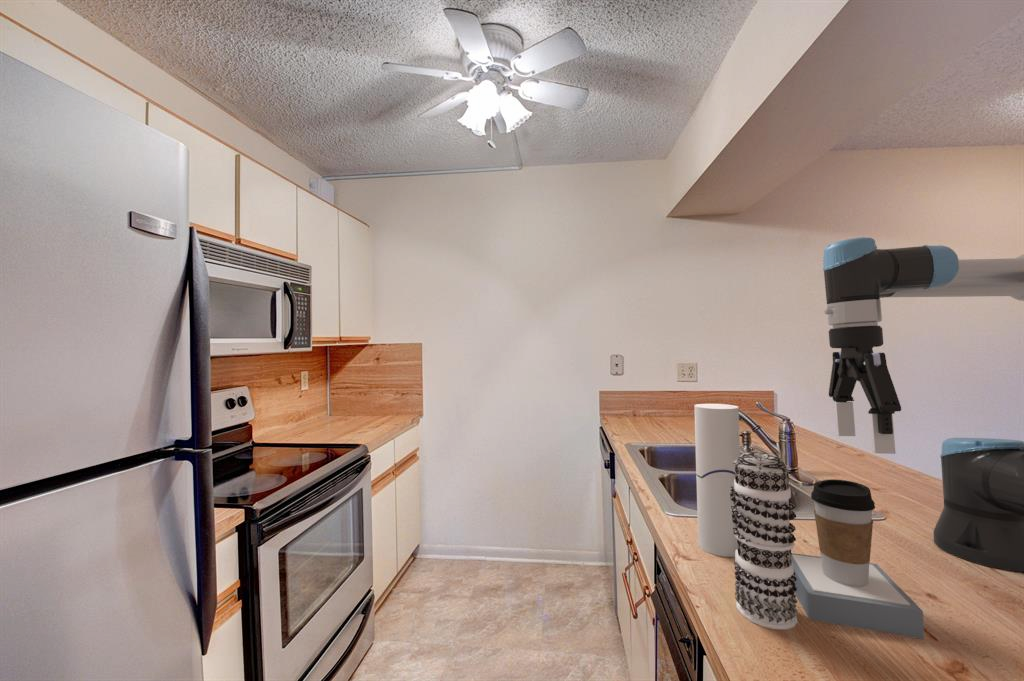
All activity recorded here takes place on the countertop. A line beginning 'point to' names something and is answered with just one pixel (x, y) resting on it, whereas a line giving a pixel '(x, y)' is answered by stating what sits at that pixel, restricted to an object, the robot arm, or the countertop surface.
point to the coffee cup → (844, 529)
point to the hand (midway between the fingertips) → (863, 443)
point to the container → (716, 475)
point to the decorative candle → (764, 541)
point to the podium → (856, 600)
